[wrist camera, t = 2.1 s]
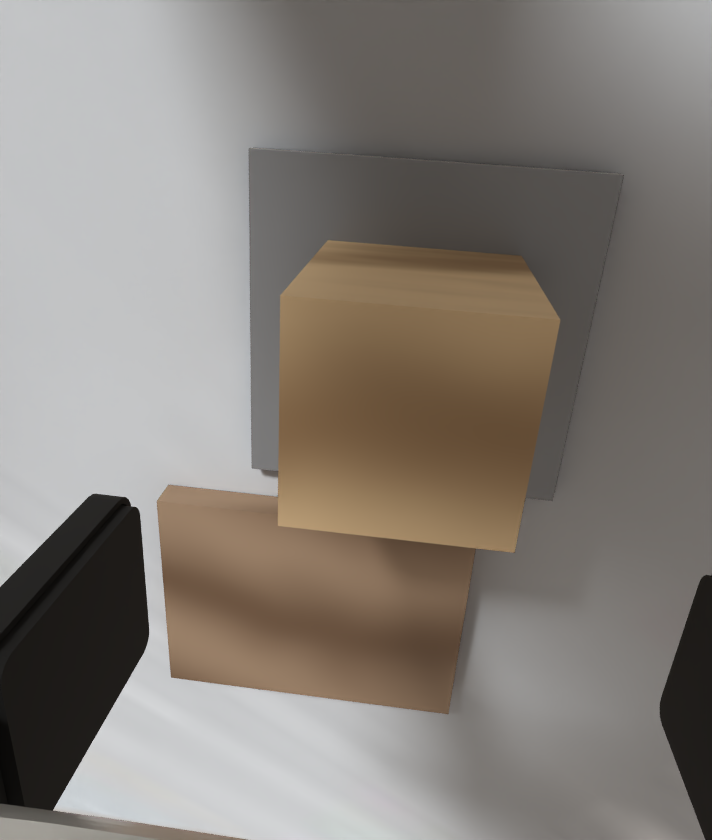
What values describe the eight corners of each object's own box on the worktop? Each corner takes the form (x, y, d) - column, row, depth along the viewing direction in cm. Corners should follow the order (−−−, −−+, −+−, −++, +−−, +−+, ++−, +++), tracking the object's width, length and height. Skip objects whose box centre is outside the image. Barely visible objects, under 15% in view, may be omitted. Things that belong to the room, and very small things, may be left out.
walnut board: (168, 484, 26) (156, 501, 25) (475, 518, 25) (477, 537, 24) (180, 656, 30) (171, 677, 29) (447, 691, 29) (448, 714, 28)
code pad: (254, 147, 20) (248, 148, 20) (618, 173, 20) (623, 175, 19) (255, 460, 25) (251, 468, 24) (550, 491, 24) (552, 500, 24)
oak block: (327, 240, 21) (280, 295, 14) (521, 255, 20) (560, 319, 14) (320, 414, 23) (277, 525, 17) (492, 431, 23) (514, 552, 16)
